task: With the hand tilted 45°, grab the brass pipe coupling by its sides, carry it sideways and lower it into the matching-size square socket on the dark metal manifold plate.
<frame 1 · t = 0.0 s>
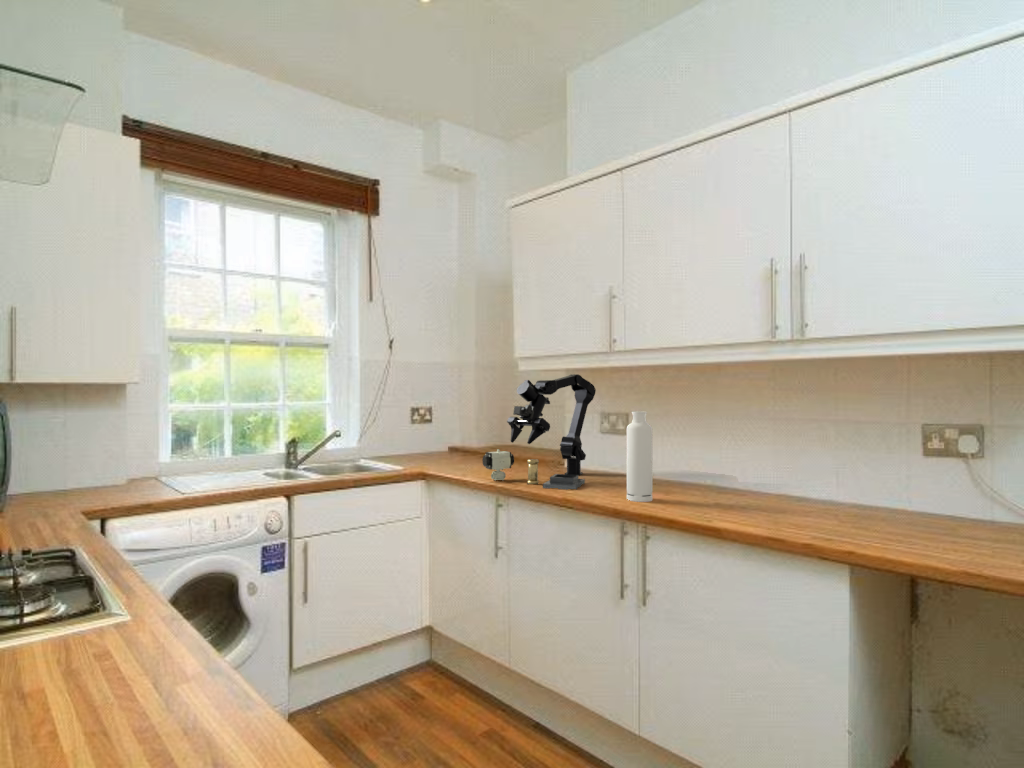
hand: (519, 442, 218), 15 cm above the counter, tool tilted 35°, fingers open, 9 cm apart
pneumatic valve: (498, 480, 222), on the counter
manifold plate: (564, 485, 210), on the counter
brass coupling: (532, 483, 214), on the counter
bottle: (639, 500, 183), on the counter
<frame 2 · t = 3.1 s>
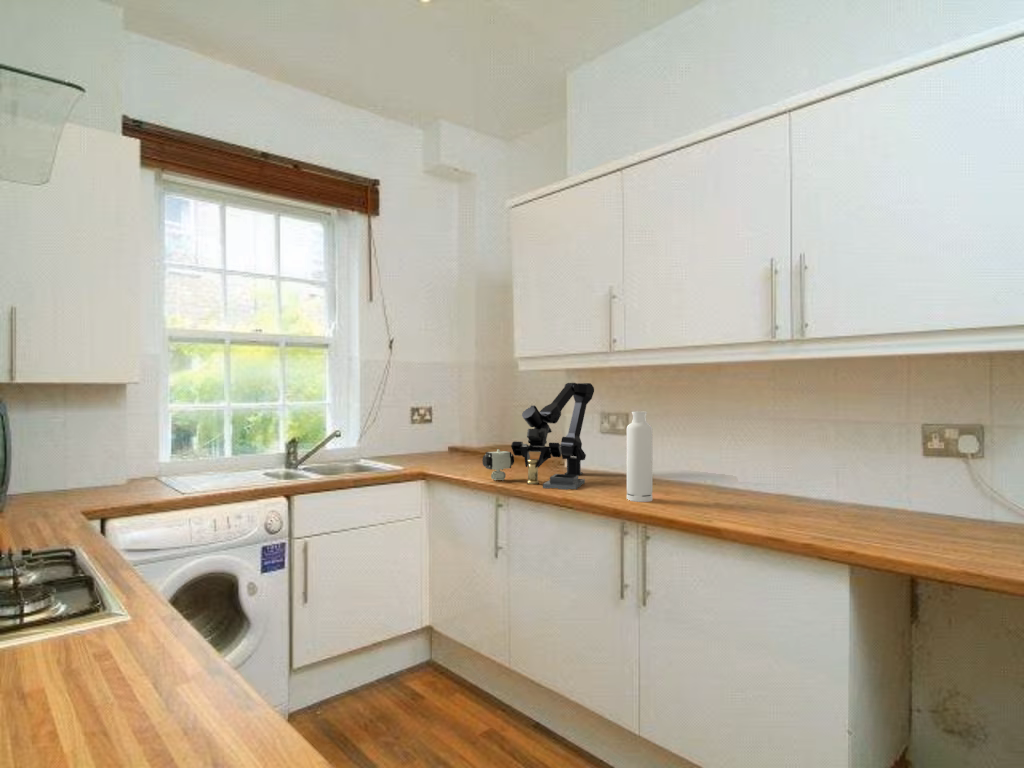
hand: (531, 466, 212), 7 cm above the counter, tool tilted 45°, fingers closed on brass coupling, 4 cm apart
brass coupling: (532, 483, 213), on the counter, touching gripper
everything else where it was.
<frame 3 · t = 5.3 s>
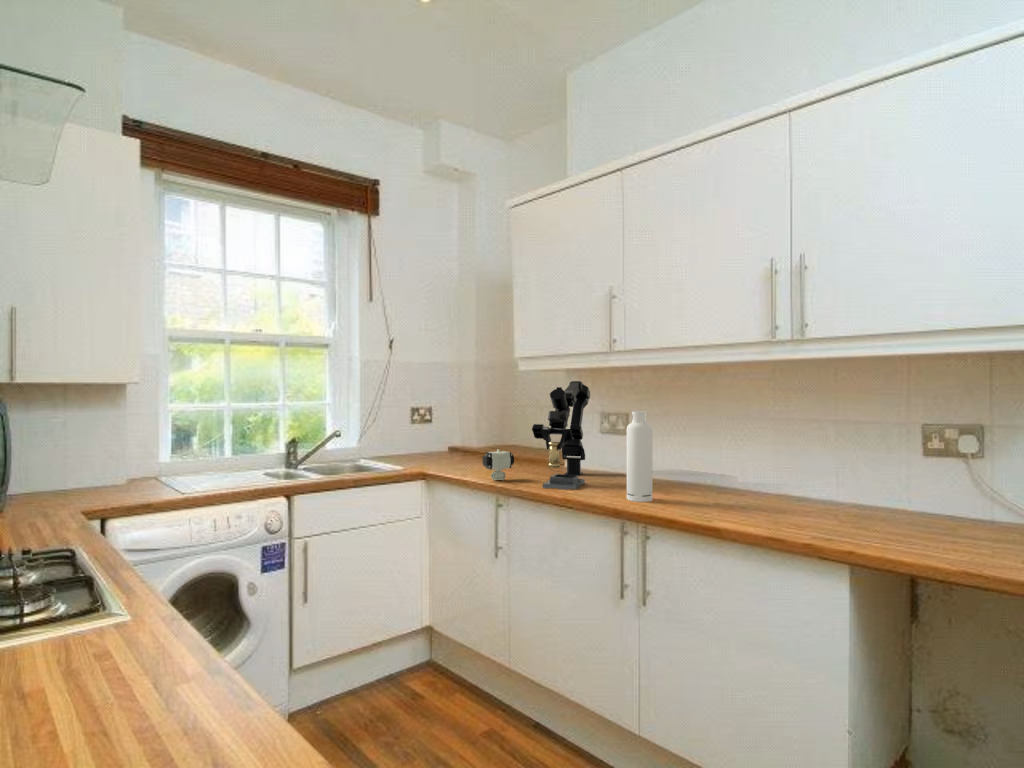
hand: (553, 449, 210), 13 cm above the counter, tool tilted 45°, fingers closed on brass coupling, 4 cm apart
brass coupling: (554, 466, 211), point 7 cm above the counter, touching gripper
everything else where it was.
when the fingers open (9 cm above the counter, at t = 7.4 s): brass coupling stays where it is, resting on manifold plate.
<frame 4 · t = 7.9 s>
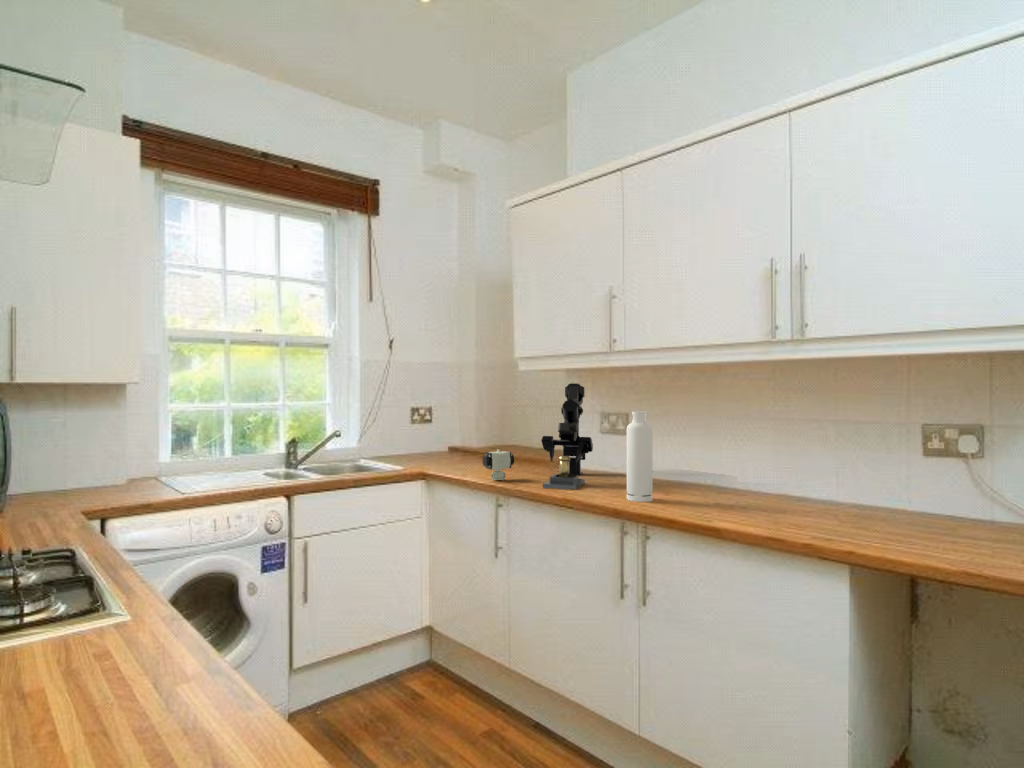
hand: (563, 461, 209), 9 cm above the counter, tool tilted 45°, fingers open, 9 cm apart
brass coupling: (564, 481, 210), point 2 cm above the counter, touching manifold plate
everything else where it was.
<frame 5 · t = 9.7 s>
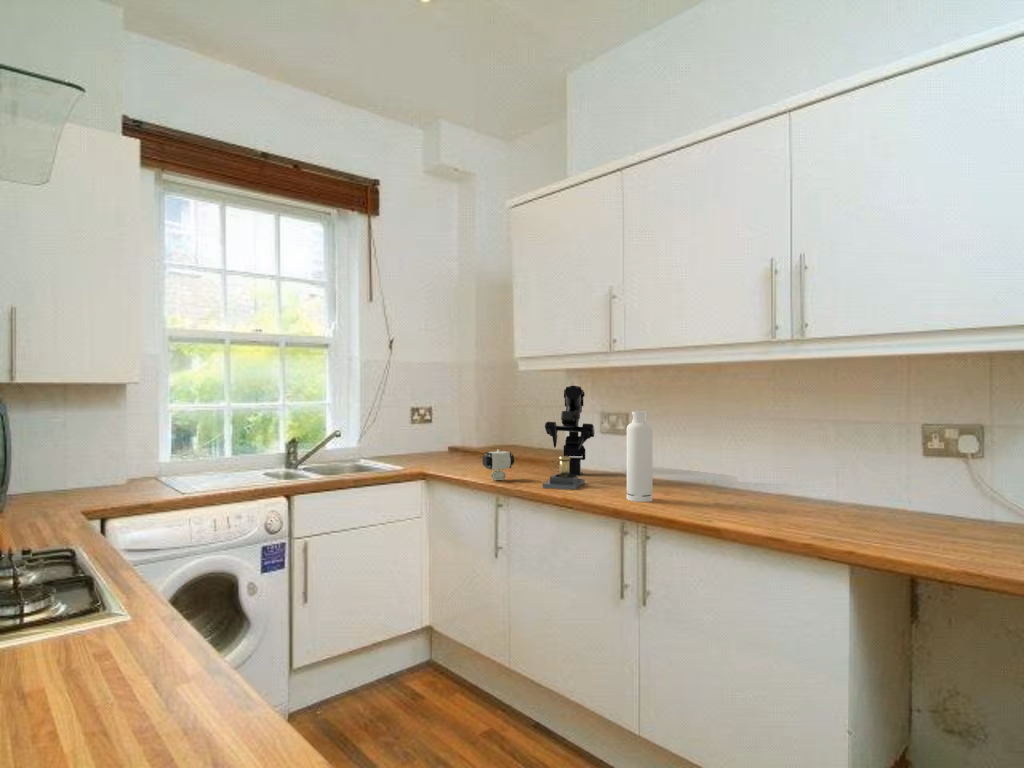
hand: (566, 448, 217), 13 cm above the counter, tool tilted 35°, fingers open, 9 cm apart
nothing on the counter moved.
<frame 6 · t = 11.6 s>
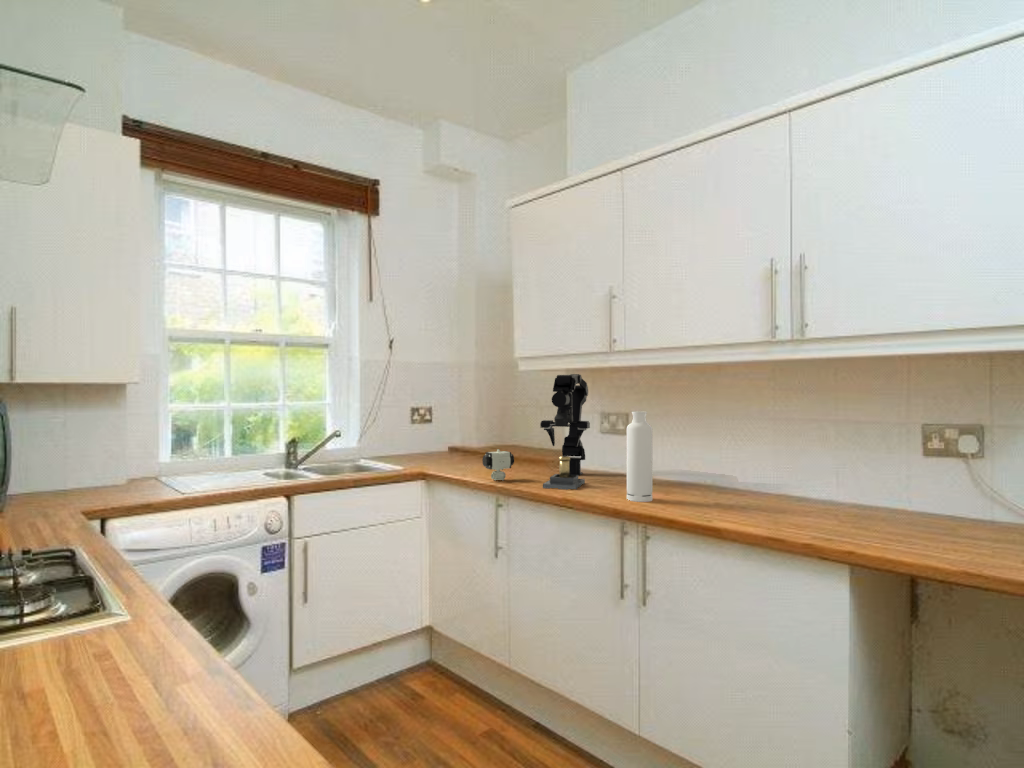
hand: (565, 446, 224), 13 cm above the counter, tool pointing down, fingers open, 9 cm apart
nothing on the counter moved.
at the end: brass coupling 0.1 cm off-centre on the manifold plate, point 1.5 cm above the manifold plate's base; brass coupling tilted 0°; the gripper is holding nothing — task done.
